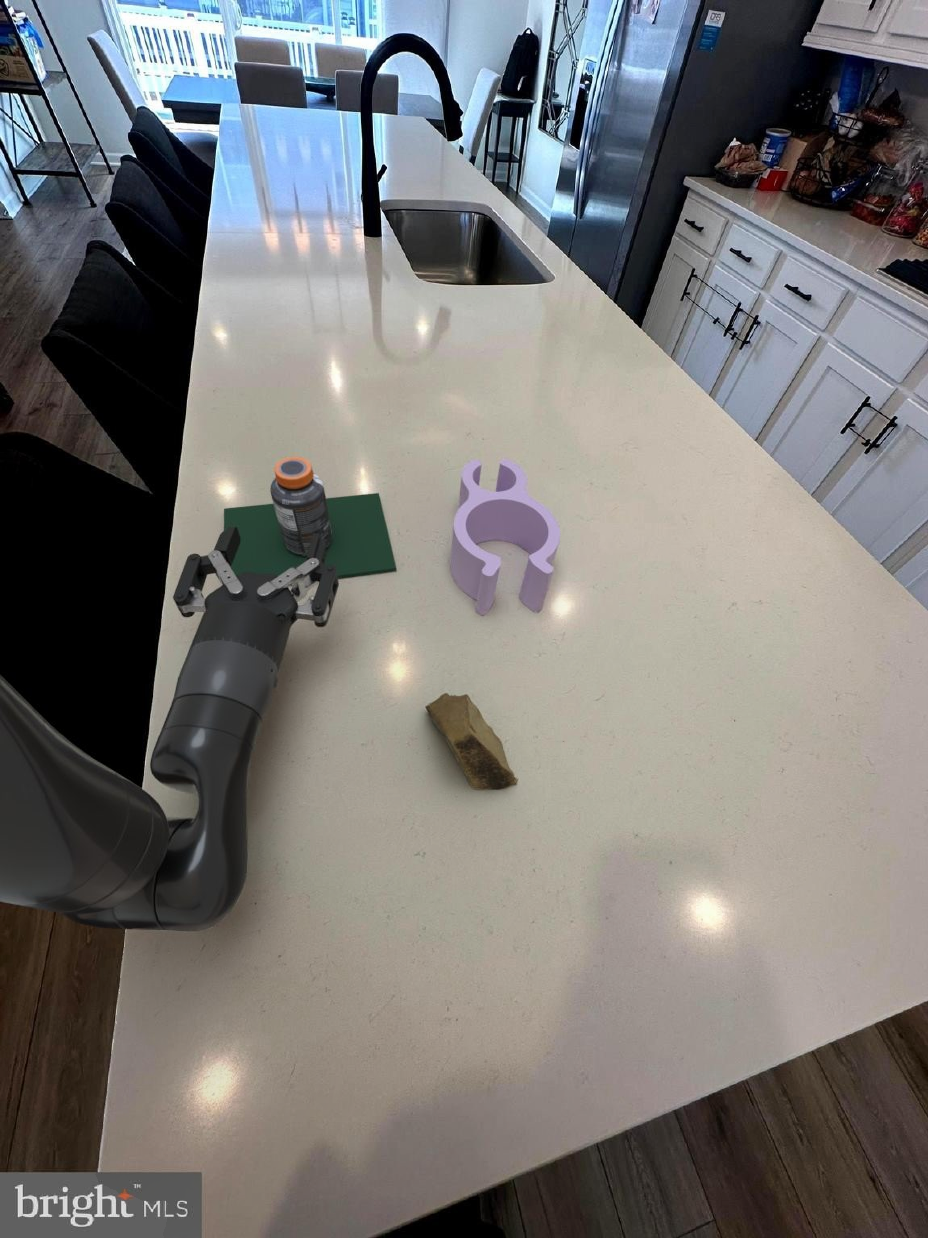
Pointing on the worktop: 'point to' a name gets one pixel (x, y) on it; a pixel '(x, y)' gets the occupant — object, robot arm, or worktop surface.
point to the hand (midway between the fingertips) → (276, 535)
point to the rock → (472, 742)
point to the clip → (501, 535)
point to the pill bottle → (299, 504)
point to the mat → (351, 550)
